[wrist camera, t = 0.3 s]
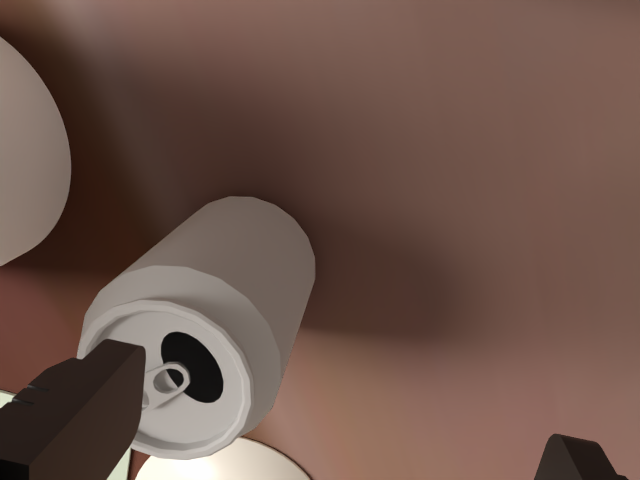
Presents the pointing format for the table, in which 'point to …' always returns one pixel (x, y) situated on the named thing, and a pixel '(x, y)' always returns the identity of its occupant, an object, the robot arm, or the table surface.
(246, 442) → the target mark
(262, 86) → the table surface
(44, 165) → the canister
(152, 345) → the can
